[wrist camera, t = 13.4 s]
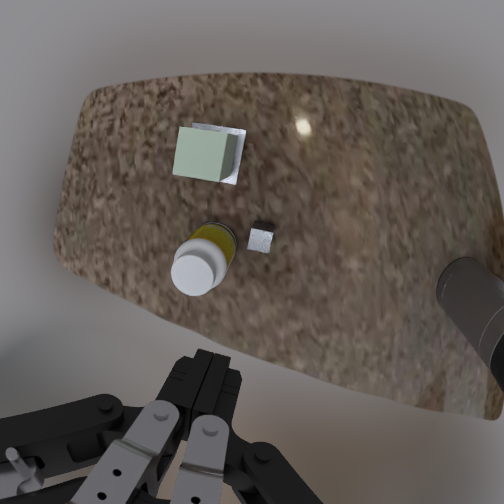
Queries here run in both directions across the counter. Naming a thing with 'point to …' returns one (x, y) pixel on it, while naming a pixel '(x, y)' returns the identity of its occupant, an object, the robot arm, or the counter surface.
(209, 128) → the post on square base
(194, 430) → the robot arm
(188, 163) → the pale green block
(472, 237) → the counter surface
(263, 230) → the short post
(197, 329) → the counter surface
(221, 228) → the pill bottle
